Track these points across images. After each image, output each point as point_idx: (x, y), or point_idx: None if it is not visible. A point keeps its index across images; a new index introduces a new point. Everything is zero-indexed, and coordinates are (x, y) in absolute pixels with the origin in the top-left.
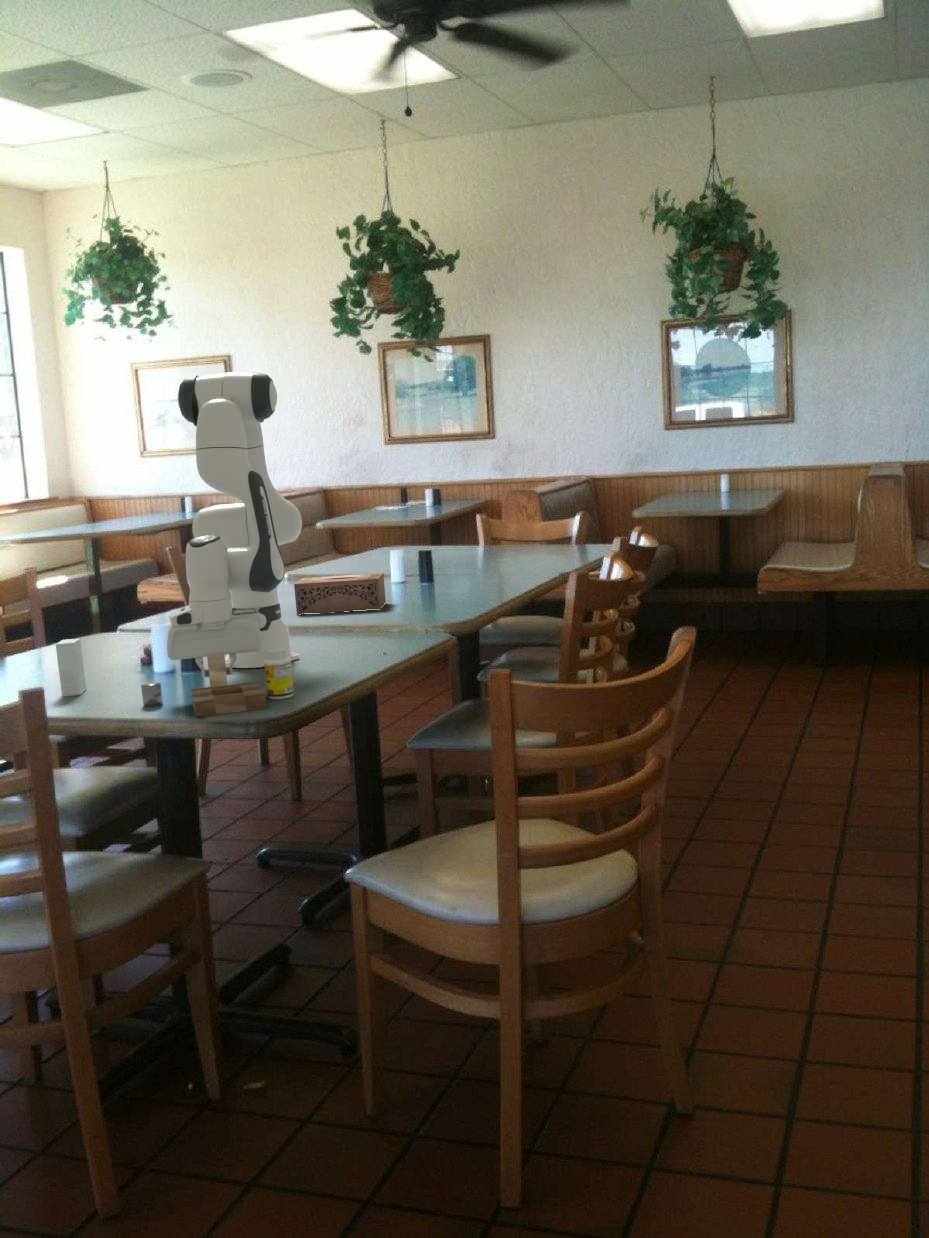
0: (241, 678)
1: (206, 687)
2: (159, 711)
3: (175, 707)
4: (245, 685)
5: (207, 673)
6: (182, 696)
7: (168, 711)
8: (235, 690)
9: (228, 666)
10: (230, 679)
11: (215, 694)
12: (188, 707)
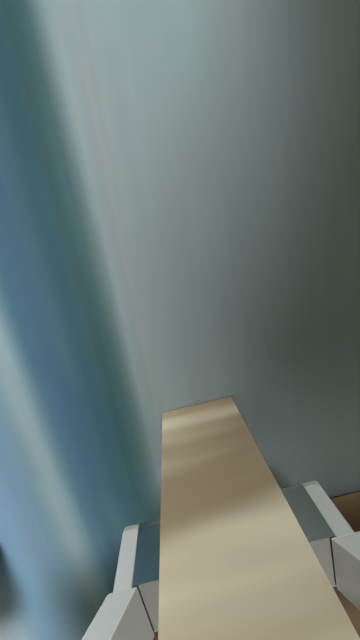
0: (274, 29)
1: None
2: (29, 631)
3: (71, 592)
4: (357, 612)
5: None
6: (36, 422)
7: (64, 635)
8: None
9: (329, 564)
10: (207, 33)
11: None
12: None
